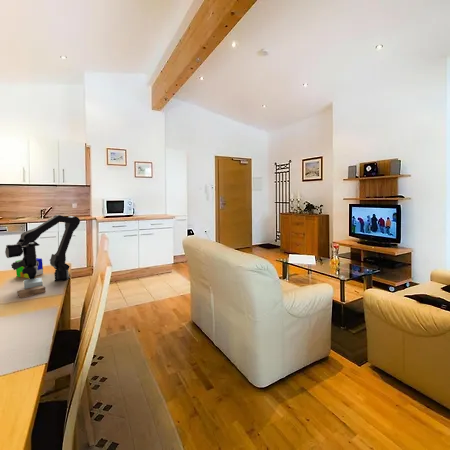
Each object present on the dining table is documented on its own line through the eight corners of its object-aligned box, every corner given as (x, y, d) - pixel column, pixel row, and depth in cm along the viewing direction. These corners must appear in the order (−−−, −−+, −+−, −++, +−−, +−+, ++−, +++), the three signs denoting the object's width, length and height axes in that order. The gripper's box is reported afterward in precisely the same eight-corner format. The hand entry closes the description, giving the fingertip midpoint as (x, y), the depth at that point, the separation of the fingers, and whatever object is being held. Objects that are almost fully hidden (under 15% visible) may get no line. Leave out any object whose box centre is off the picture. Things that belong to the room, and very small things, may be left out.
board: (42, 290, 152) (41, 285, 152) (45, 292, 149) (45, 287, 149) (17, 296, 144) (17, 290, 144) (20, 298, 141) (20, 293, 140)
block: (41, 286, 160) (41, 277, 159) (43, 290, 153) (42, 281, 152) (24, 288, 155) (23, 280, 154) (25, 293, 148) (24, 284, 147)
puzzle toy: (43, 273, 183) (42, 258, 182) (28, 278, 174) (26, 262, 173) (32, 272, 187) (30, 257, 185) (16, 276, 177) (15, 261, 176)
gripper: (14, 253, 160) (16, 279, 162) (8, 259, 144) (11, 289, 146) (37, 251, 166) (39, 276, 168) (35, 257, 150) (37, 285, 152)
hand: (32, 281), depth 158 cm, fingers closed
